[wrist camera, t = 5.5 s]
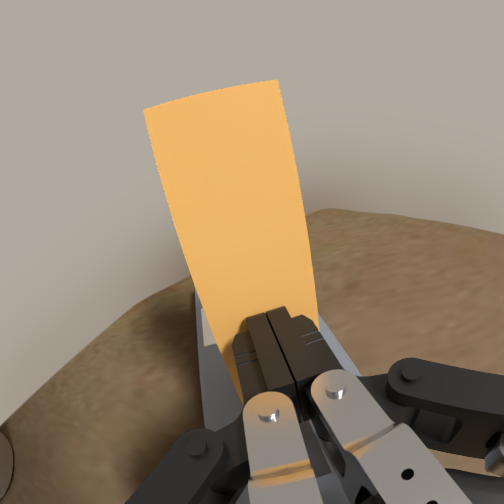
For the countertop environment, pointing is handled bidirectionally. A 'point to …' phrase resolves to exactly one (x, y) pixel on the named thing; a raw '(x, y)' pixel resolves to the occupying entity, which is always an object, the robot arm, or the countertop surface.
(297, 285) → the slider tab
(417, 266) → the countertop surface
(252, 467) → the robot arm
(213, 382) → the switch panel
